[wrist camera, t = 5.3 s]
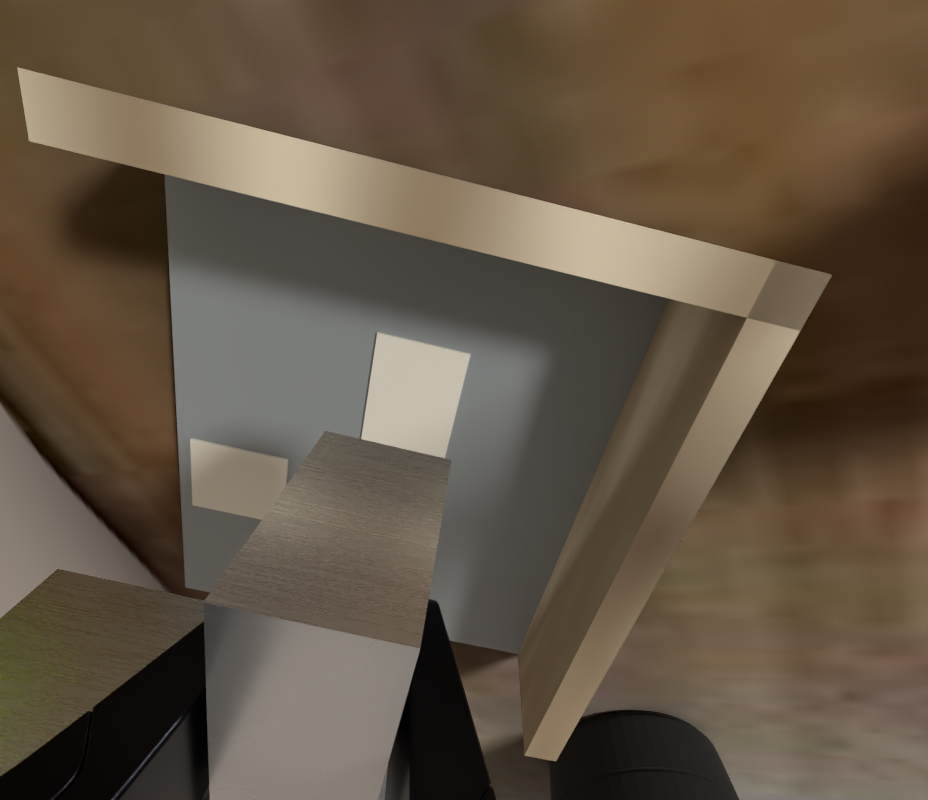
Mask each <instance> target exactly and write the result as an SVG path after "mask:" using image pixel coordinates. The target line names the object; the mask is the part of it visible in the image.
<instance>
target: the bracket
mask: <svg viewBox="0 0 928 800" xmlns="http://www.w3.org/2000/svg"><path fill="white" fill-rule="evenodd" d="M451 461H452V460H450V459H445V458H441V457H437V456H432V455H428V454H424V453H419V452H415V451H411V450H406V449H402V448H398V447H393V446H389V445H385V444H380V443H376V442H372V441H367V440H363V439H359V438H354V437H350V436H346V435H341V434H337V433H332V432H328V431H325V432H324V433H323V435H322V436H321V438H320V439H319V441H318V442H317V443H316V445H315V446H314V448H313V449H312V450H311V452H310V453H309V455H308V456H307V457H306V459H305V460H304V462H303V463H302V464H301V466H300V467H299V469H298V470H297V471H296V473H295V474H294V476H293V477H292V478H291V480H290V481H289V483H288V484H287V485H286V487H285V488H284V490H283V491H282V492H281V494H280V495H279V497H278V498H277V499H276V501H275V502H274V504H273V505H272V507H271V508H270V509H269V511H268V512H267V514H266V515H265V516H264V518H263V519H262V521H261V522H260V523H259V525H258V526H257V528H256V529H255V530H254V532H253V533H252V535H251V536H250V537H249V539H248V540H247V542H246V543H245V544H244V546H243V547H242V549H241V550H240V551H239V553H238V554H237V556H236V557H235V558H234V560H233V561H232V563H231V564H230V565H229V567H228V568H227V570H226V571H225V572H224V574H223V575H222V577H221V578H220V580H219V581H218V582H217V584H216V585H215V587H214V588H213V589H212V591H211V592H210V594H209V595H208V596H207V598H206V599H205V601H204V600H200V599H195V598H190V597H186V596H181V595H176V594H172V593H167V592H162V591H157V590H153V589H148V588H144V587H139V586H134V585H130V584H125V583H119V582H116V581H111V580H106V579H101V578H97V577H92V576H88V575H83V574H78V573H73V572H69V571H64V570H59V569H57V570H56V571H55V572H54V573H53V574H52V575H50V576H49V577H48V578H47V579H46V580H45V581H44V582H42V583H41V584H40V585H39V586H38V587H36V589H34V590H33V591H32V592H31V593H30V594H28V595H27V596H26V597H25V598H24V599H22V600H21V601H20V602H19V603H18V604H17V605H16V606H14V607H13V608H12V609H11V610H10V611H9V612H7V613H6V615H4V616H3V617H2V618H1V619H0V776H1V775H3V774H4V773H6V772H7V771H8V770H10V769H11V768H13V767H14V766H16V765H17V764H18V763H20V762H21V761H23V760H24V759H25V758H27V757H28V756H29V755H31V754H32V753H33V752H35V751H36V750H37V749H39V748H40V747H41V746H43V745H44V744H45V743H47V742H48V741H49V740H51V739H52V738H53V737H55V736H56V735H57V734H59V733H60V732H61V731H63V730H64V729H65V728H66V727H68V726H69V725H70V724H72V723H73V722H74V721H75V720H77V719H78V718H79V717H81V716H82V715H83V714H84V713H86V712H87V711H91V712H92V709H93V707H94V706H95V705H96V704H98V703H99V702H100V701H101V700H103V699H104V698H105V697H107V696H108V695H109V694H110V693H112V692H113V691H114V690H116V689H117V688H118V687H119V686H121V685H122V684H123V683H125V682H126V681H127V680H128V679H130V678H131V677H132V676H134V675H135V674H136V673H137V672H139V671H140V670H141V669H143V668H144V667H145V666H146V665H148V664H149V663H150V662H152V661H153V660H154V659H155V658H157V657H158V656H159V655H161V654H162V653H163V652H164V651H166V650H167V649H168V648H170V647H171V646H172V645H173V644H175V643H176V642H177V641H179V640H180V639H181V638H182V637H184V636H185V635H186V634H188V633H189V632H190V631H191V630H193V629H194V628H195V627H197V626H198V625H199V624H200V623H202V622H203V621H204V639H205V670H206V701H207V732H208V763H209V787H208V788H207V790H206V792H205V794H204V796H203V798H202V800H378V797H379V794H380V790H381V786H382V783H383V779H384V776H385V772H386V769H387V765H388V762H389V758H390V754H391V751H392V747H393V744H394V740H395V737H396V733H397V730H398V726H399V722H400V719H401V715H402V712H403V708H404V705H405V701H406V698H407V694H408V691H409V687H410V683H411V680H412V676H413V673H414V669H415V666H416V662H417V659H418V655H419V651H420V647H421V641H422V635H423V629H424V623H425V617H426V611H427V605H428V599H429V593H430V587H431V581H432V575H433V569H434V563H435V557H436V551H437V545H438V539H439V533H440V527H441V521H442V515H443V509H444V503H445V497H446V491H447V485H448V479H449V473H450V467H451Z"/></svg>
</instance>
